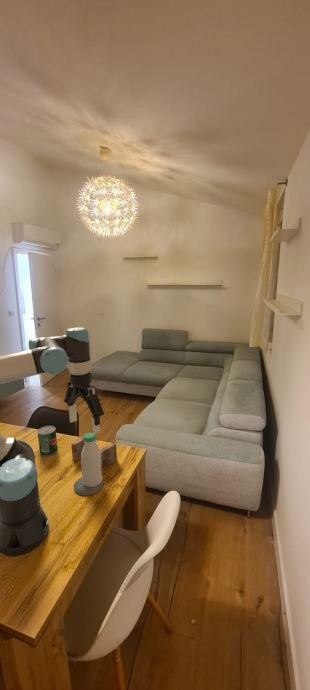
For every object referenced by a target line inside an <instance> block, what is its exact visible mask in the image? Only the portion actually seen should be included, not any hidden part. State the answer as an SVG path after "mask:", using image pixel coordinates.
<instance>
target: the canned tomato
mask: <svg viewBox="0 0 310 690" xmlns="http://www.w3.org/2000/svg"><path fill="white" fill-rule="evenodd" d="M56 430H57V429H56V427H55V426H54V425H45V426H42V427H40V428H38V430H37V438H38V441H37V442H38V447H39V455H40V456H42V457H50V456H53V455H54V454H56V453H58V448H59V447H58V441H57V440H58V439H57V431H56Z"/></svg>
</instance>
